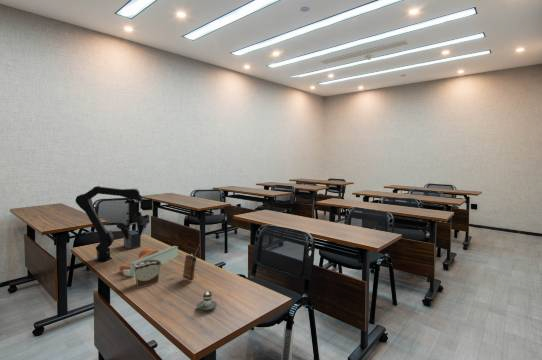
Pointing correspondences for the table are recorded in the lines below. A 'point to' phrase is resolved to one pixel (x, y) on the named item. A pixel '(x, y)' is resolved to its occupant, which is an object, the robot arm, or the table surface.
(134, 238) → the small box
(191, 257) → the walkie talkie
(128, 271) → the chute mount
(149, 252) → the crank
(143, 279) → the food container
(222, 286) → the table surface
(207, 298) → the grey knobbed lid
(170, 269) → the table surface
